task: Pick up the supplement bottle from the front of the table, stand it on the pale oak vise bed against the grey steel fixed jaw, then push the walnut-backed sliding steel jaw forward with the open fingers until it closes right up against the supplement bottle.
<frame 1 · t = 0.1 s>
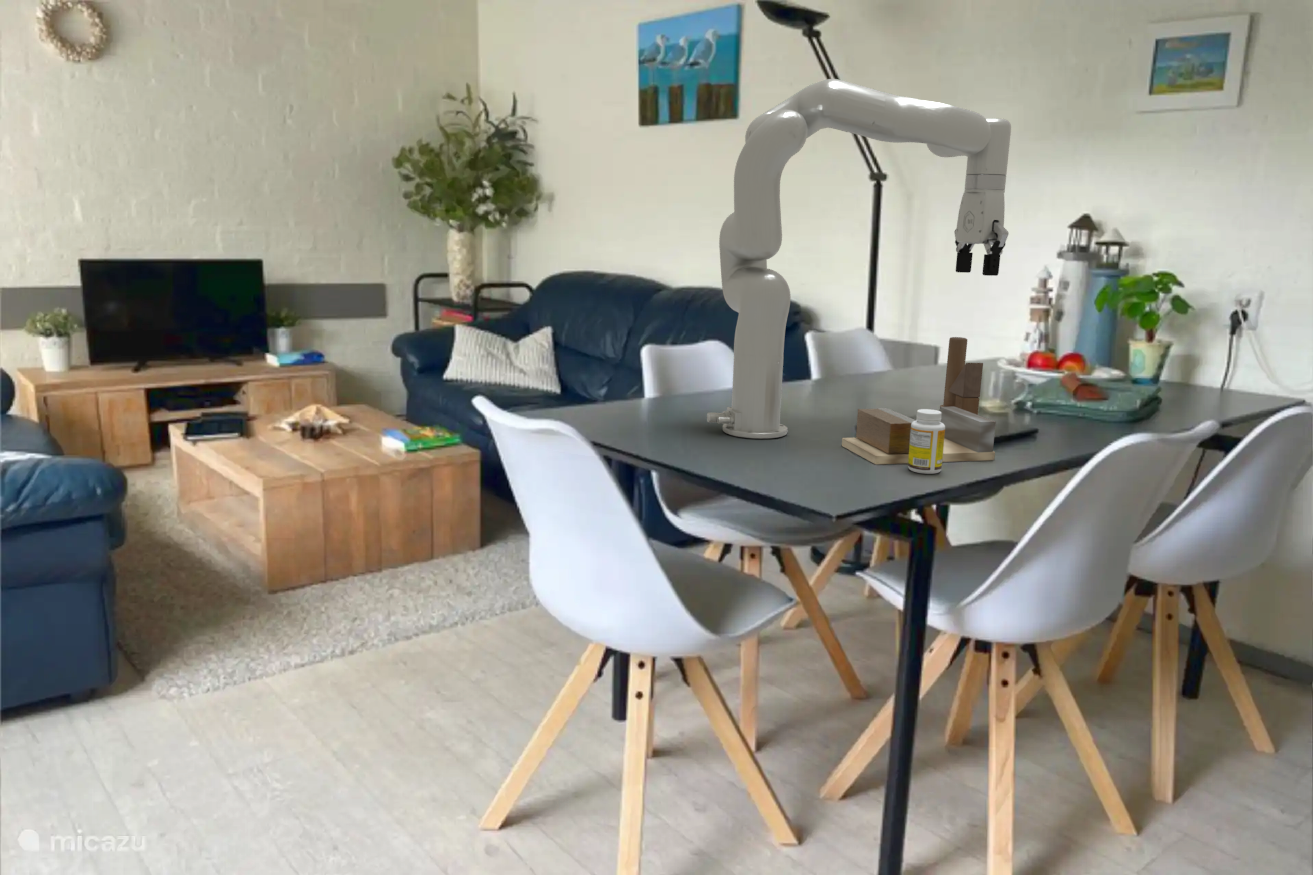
hand: (976, 273, 193), 31 cm above the table, fingers open, 9 cm apart
vise bed: (916, 452, 176), on the table
wooden block: (956, 428, 200), on the table
supplement bottle: (924, 471, 164), on the table
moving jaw: (888, 430, 174), point 4 cm above the table, slide at 0.0 cm
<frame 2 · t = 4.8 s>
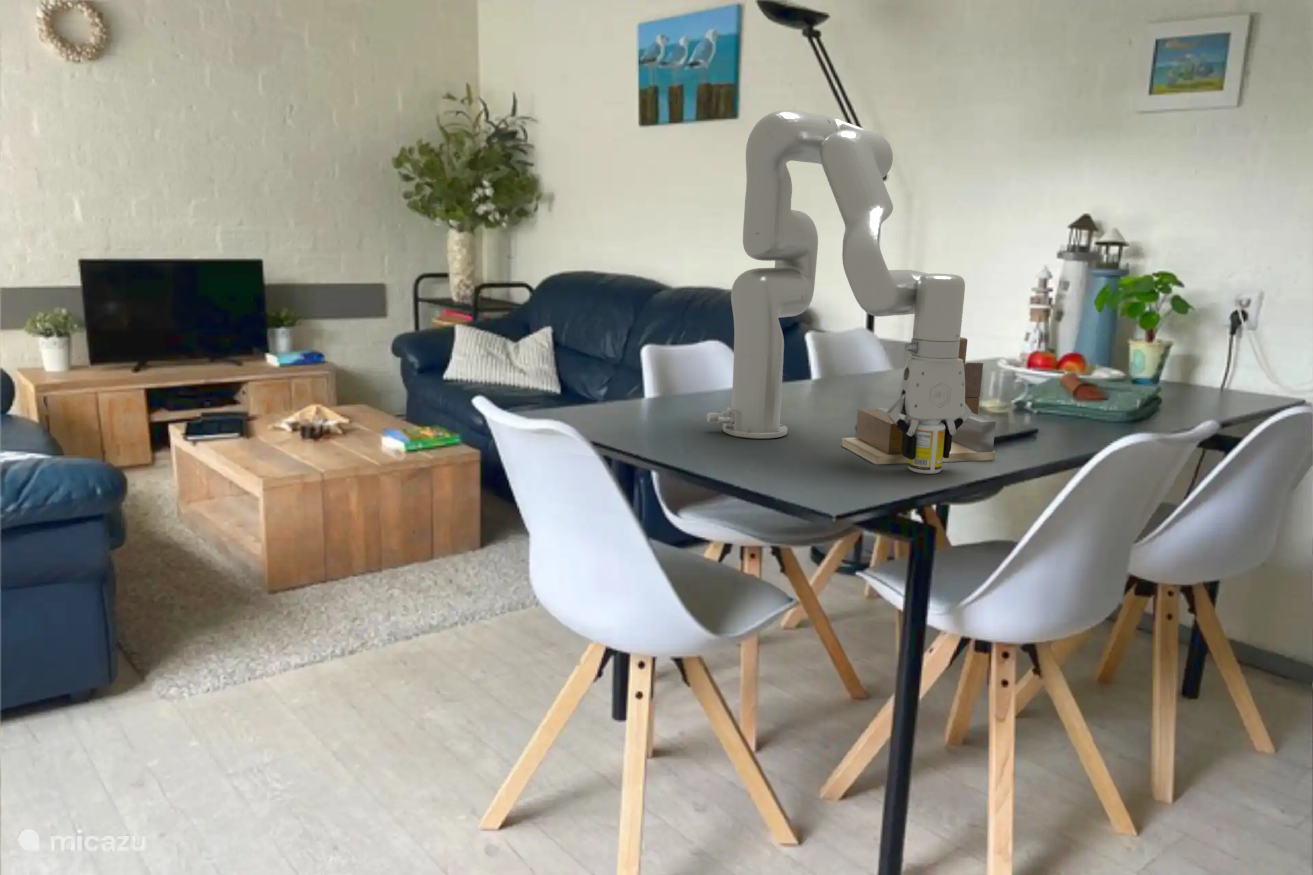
hand: (925, 455, 163), 3 cm above the table, fingers closed on supplement bottle, 5 cm apart
supplement bottle: (924, 471, 164), on the table, touching gripper
everything else where it was.
when the fingers open (5 cm above the table, at t = 10.8 s): supplement bottle drops 1 cm, resting on vise bed.
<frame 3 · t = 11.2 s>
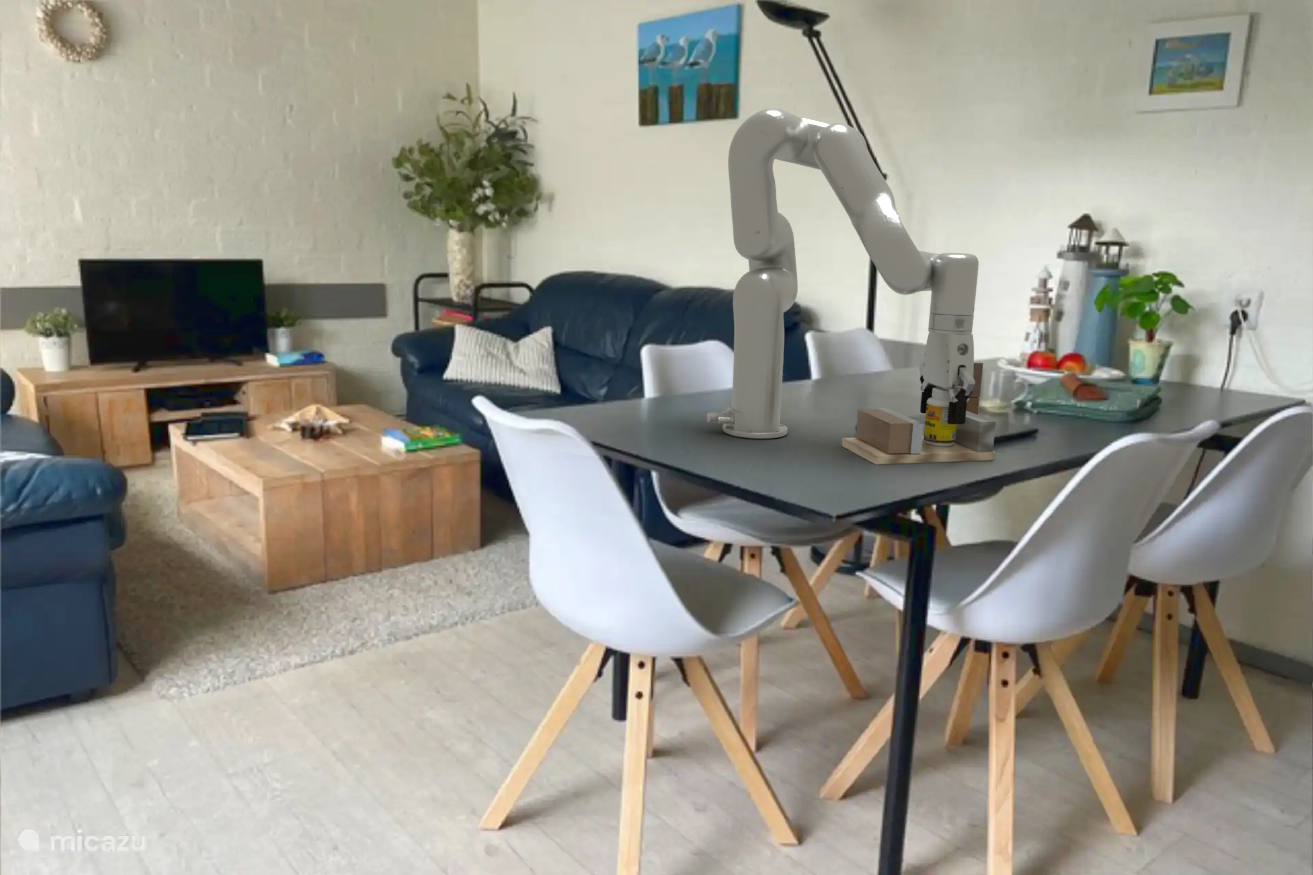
hand: (941, 418, 176), 6 cm above the table, fingers open, 9 cm apart
supplement bottle: (938, 445, 177), point 1 cm above the table, touching vise bed
everything else where it was.
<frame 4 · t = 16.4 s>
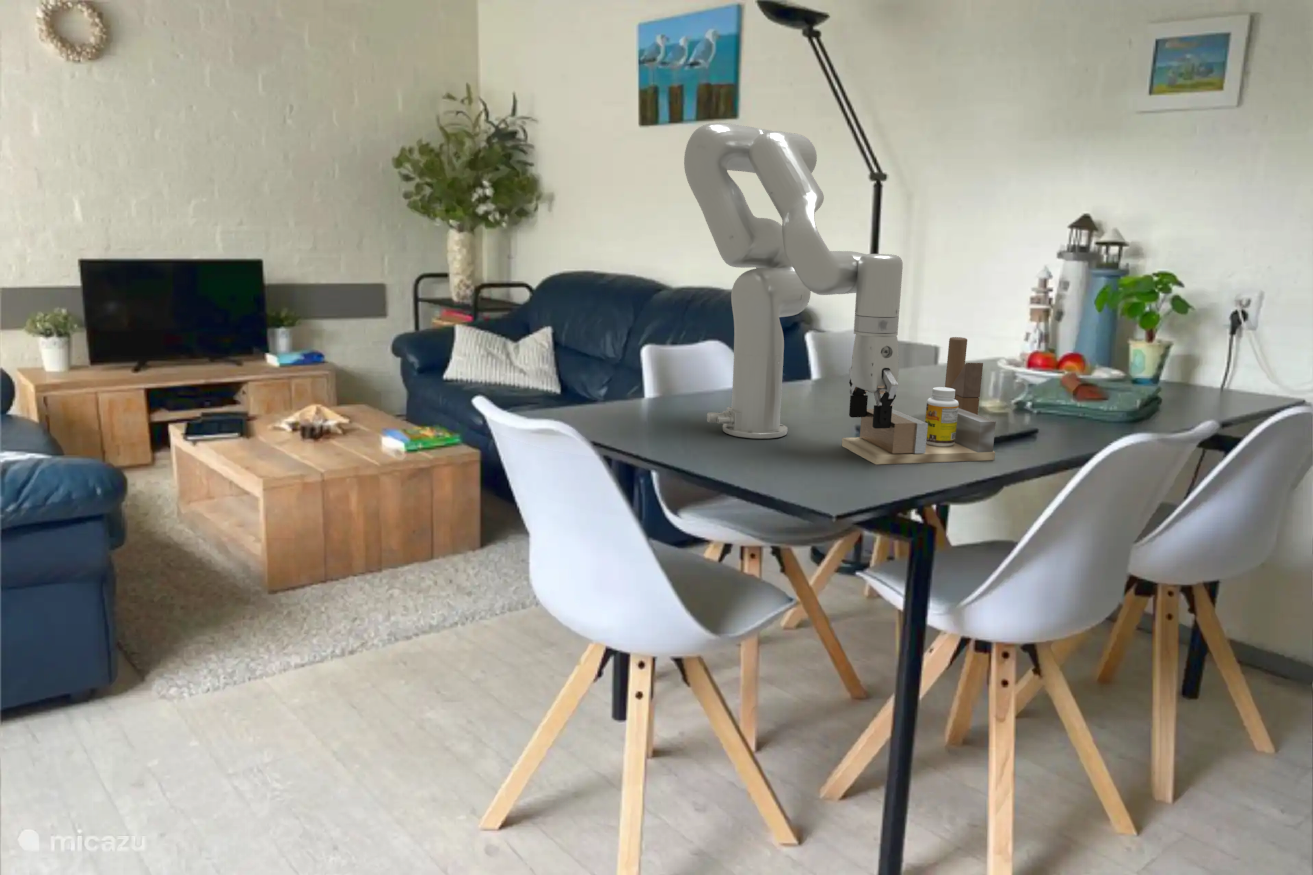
hand: (869, 422, 173), 6 cm above the table, fingers open, 9 cm apart
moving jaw: (891, 430, 174), point 4 cm above the table, slide at 0.8 cm, touching gripper
everything else where it was.
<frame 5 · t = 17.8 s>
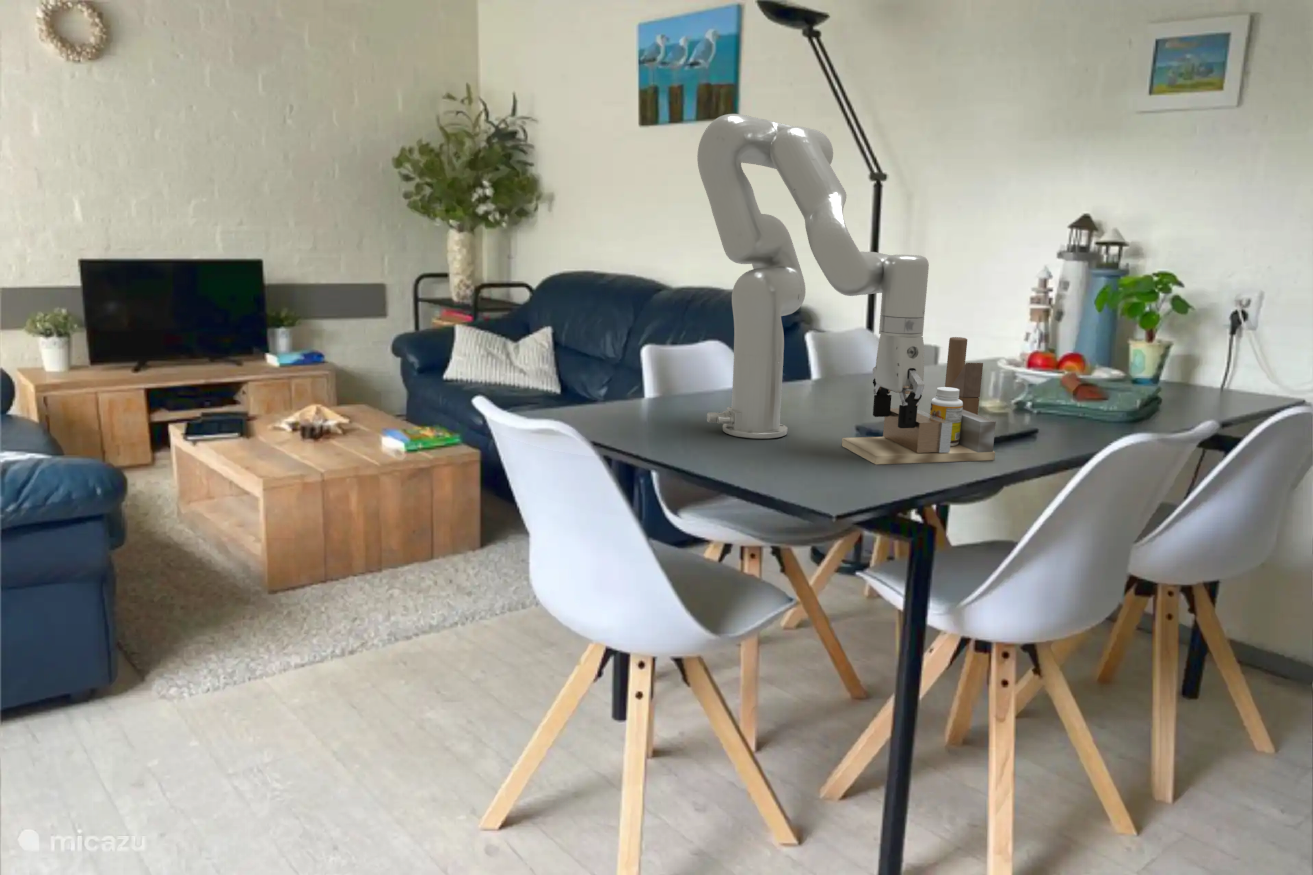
hand: (893, 421, 174), 6 cm above the table
supplement bottle: (942, 444, 177), point 1 cm above the table, touching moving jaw, vise bed
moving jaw: (915, 429, 175), point 4 cm above the table, slide at 5.5 cm, touching supplement bottle, gripper
everything else where it was.
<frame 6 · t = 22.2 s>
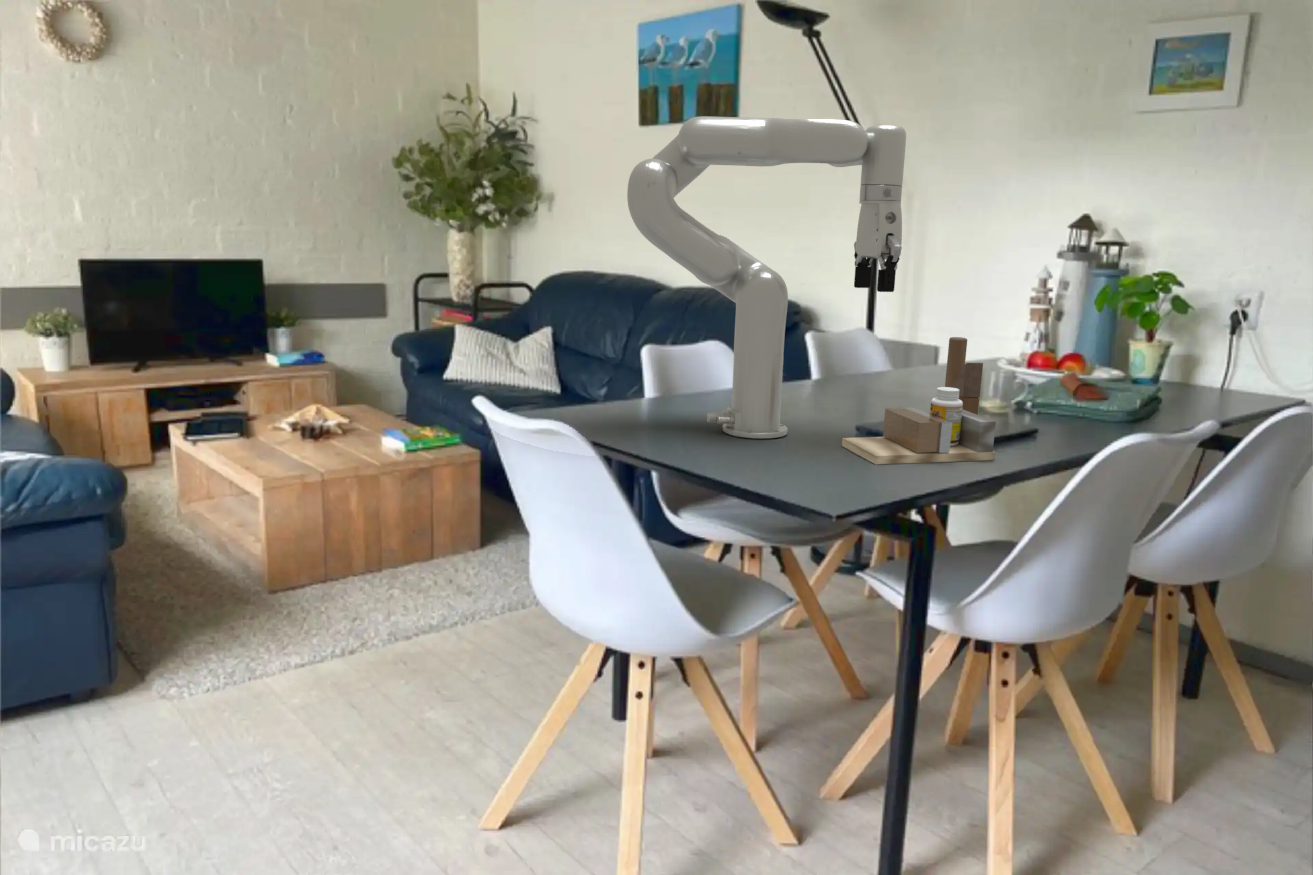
hand: (873, 289, 182), 28 cm above the table, fingers open, 9 cm apart
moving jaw: (915, 429, 175), point 4 cm above the table, slide at 5.5 cm, touching supplement bottle
everything else where it was.
at the end: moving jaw slide at 5.5 cm; supplement bottle 0.2 cm from the target spot, point 1.3 cm above the table; supplement bottle tilted 0° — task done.
